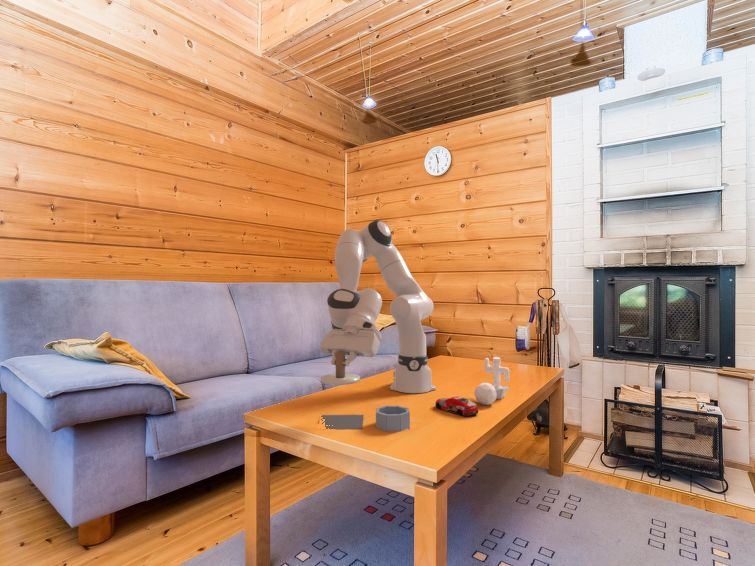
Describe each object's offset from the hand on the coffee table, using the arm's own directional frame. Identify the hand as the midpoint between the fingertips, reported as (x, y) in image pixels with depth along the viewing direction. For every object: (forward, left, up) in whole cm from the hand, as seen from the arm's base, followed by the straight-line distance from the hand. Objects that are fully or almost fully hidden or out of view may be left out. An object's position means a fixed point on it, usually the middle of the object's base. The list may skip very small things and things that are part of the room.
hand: (339, 364), depth 132 cm
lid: (0, 0, -5) cm, 5 cm away
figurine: (-31, +58, -19) cm, 68 cm away
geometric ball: (-21, +51, -19) cm, 58 cm away
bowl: (+3, +16, -18) cm, 25 cm away
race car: (-14, +39, -19) cm, 45 cm away
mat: (-1, 0, -18) cm, 18 cm away
